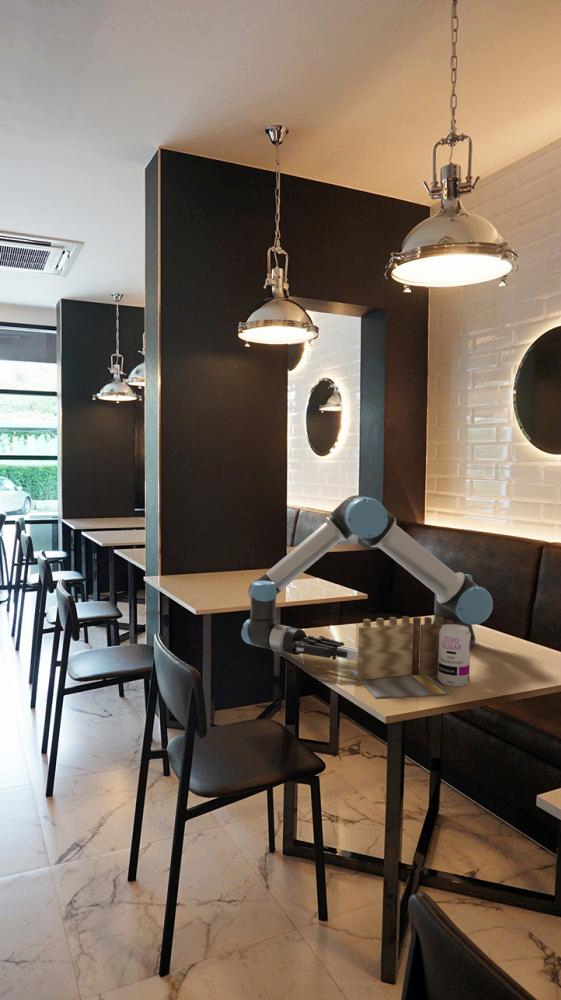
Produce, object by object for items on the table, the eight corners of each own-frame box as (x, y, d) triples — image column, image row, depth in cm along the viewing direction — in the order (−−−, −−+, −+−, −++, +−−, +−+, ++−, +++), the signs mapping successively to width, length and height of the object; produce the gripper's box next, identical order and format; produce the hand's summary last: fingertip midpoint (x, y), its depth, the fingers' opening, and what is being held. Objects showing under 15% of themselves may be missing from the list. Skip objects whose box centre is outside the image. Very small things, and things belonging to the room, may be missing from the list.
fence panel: (408, 672, 185) (410, 615, 184) (412, 674, 183) (413, 617, 183) (357, 678, 179) (359, 619, 178) (360, 680, 178) (361, 620, 177)
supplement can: (463, 677, 184) (465, 623, 183) (472, 687, 175) (475, 631, 175) (434, 677, 183) (436, 623, 183) (442, 687, 175) (444, 630, 174)
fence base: (441, 667, 193) (443, 612, 192) (478, 693, 171) (480, 631, 170) (349, 670, 187) (351, 614, 186) (375, 698, 166) (377, 634, 165)
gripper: (301, 647, 200) (372, 663, 186) (274, 658, 188) (346, 675, 175) (302, 622, 199) (373, 636, 186) (274, 631, 188) (347, 647, 174)
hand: (360, 655), depth 180 cm, fingers closed
